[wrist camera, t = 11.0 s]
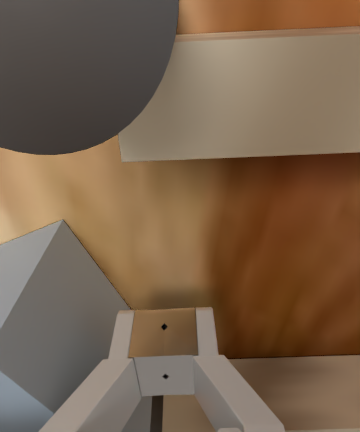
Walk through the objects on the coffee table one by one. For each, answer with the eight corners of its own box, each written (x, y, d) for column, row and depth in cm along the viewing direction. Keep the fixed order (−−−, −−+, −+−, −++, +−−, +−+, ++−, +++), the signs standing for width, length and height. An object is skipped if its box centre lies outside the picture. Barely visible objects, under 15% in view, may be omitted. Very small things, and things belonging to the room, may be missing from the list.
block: (62, 219, 10) (-17, 358, 6) (155, 342, 14) (146, 486, 10) (-95, 283, 12) (-247, 431, 8) (25, 380, 15) (-34, 519, 11)
